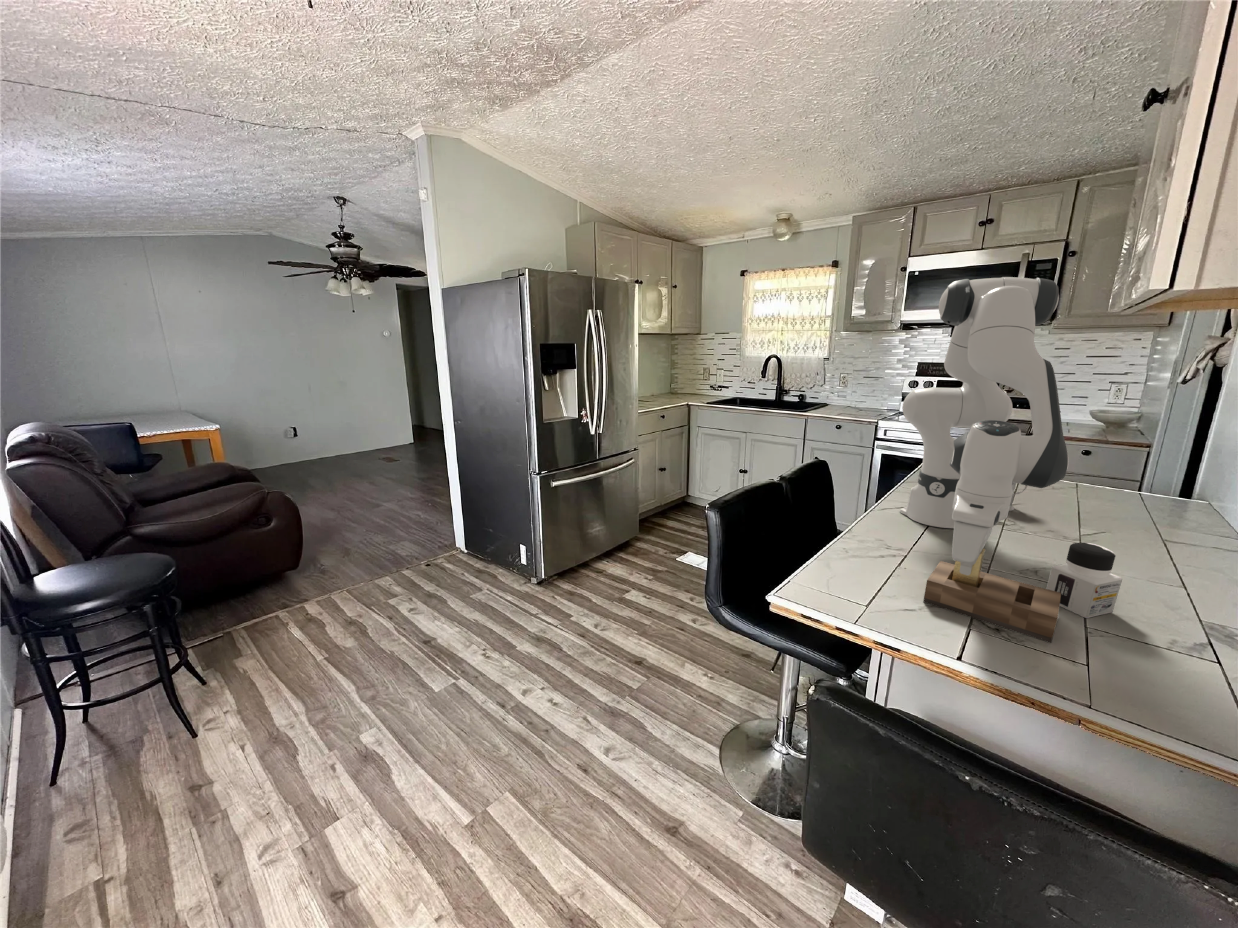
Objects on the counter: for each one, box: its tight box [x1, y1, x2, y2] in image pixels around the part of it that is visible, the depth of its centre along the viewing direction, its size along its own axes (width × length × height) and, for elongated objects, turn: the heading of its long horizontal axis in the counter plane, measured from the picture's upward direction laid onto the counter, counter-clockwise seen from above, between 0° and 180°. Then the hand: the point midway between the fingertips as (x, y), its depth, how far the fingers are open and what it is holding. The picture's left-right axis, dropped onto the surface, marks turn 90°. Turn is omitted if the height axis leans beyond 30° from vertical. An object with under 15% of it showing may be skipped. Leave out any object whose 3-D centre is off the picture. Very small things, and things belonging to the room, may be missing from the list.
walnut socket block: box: [923, 560, 1061, 644], centre depth 97 cm, size 12×20×5 cm, turn 46°
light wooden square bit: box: [952, 548, 986, 587], centre depth 98 cm, size 4×4×8 cm
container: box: [1045, 542, 1123, 619], centre depth 97 cm, size 8×8×13 cm
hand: (967, 568), depth 98 cm, fingers closed on light wooden square bit, 4 cm apart
